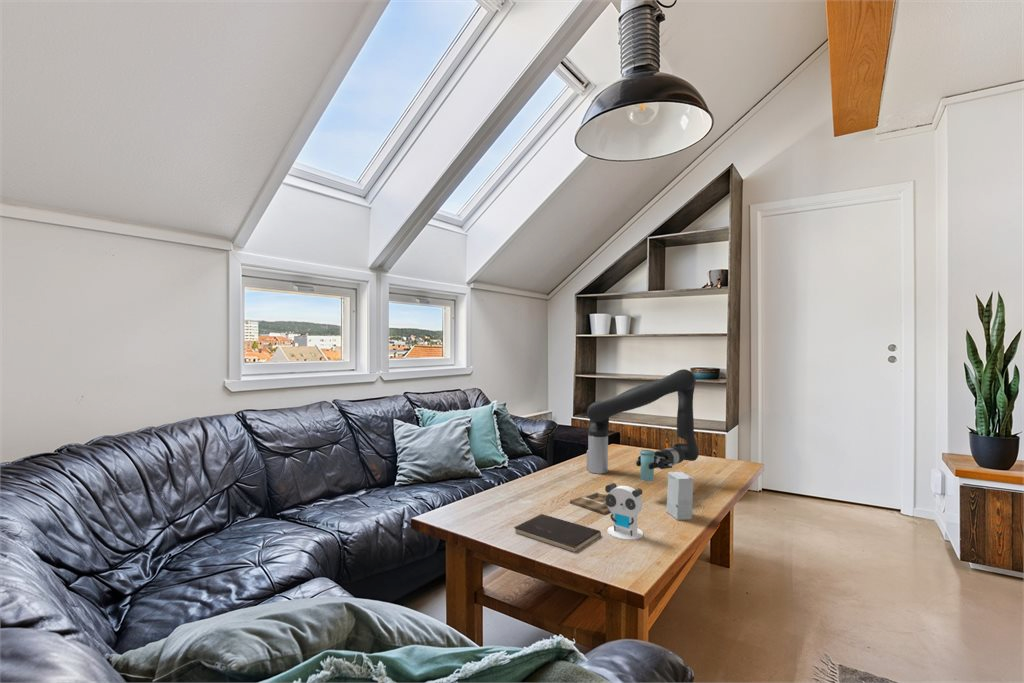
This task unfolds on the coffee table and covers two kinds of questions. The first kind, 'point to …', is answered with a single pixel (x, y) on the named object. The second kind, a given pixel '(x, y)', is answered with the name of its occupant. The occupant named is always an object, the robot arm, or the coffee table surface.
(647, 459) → the teal domed canister
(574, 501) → the collar base
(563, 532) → the hardcover book
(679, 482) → the skincare box
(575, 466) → the coffee table surface
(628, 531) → the panda figurine
